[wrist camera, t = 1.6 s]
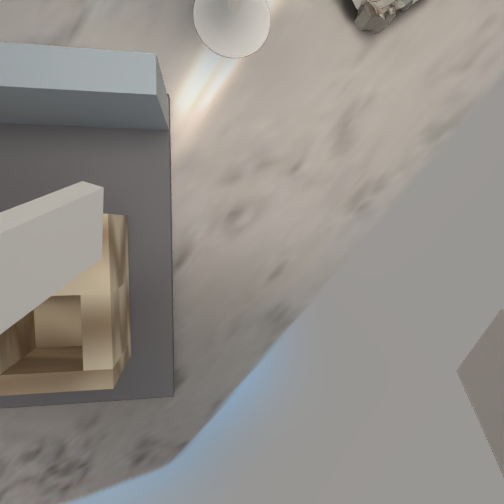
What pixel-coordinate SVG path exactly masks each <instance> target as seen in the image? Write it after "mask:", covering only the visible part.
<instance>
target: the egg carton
mask: <svg viewBox="0 0 504 504" xmlns="http://www.w3.org/2000/svg"><path fill="white" fill-rule="evenodd" d="M352 1H353V3H354V5H355V7H356V9H357V10H358V15H357V18H356V19H355V21H354V24H355V25H356V27H357V28H358V30H359V31H362V30H366V29H367V30H372V31H373V32H374V33H378V32H380V31H381V30H382V29H383V28H385V27H386V26H388V25H389V24H390V22H391V21H392V20H393V19H394V17H395V16H396V14H397V12H396V11H397V10H398V9H400V10H402V11H403V12H405V11H406V10H407V9H408V8H409V7H411V6H412V5H413V4H414V3H415V2H416V1H418V0H395V1H394V2H393V3H392V4H390V5H389V6H387V7H384V8H381V9H380V8H378V7H376V6H375V5H374V4H373V3H371V2H377V1H379V0H369V1H371V2H367V0H352Z"/></svg>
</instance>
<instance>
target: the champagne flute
mask: <svg viewBox="0 0 504 504" xmlns="http://www.w3.org/2000/svg"><path fill="white" fill-rule="evenodd" d="M193 18H194V24H195V28H196V30H197V32H198V35H199V37H200V38H201V39H202V41H203V42H204V43H205V44H206V45H207V46H208V47H209V48H210V49H211V50H212V51H214V52H215V53H217V54H220V55H222V56H225V57H229V58H241V57H246V56H248V55H250V54H252V53H254V52H255V51H257V50H258V49H259V48H260V47H261V46H262V45H263V43H264V42H265V40H266V38H267V36H268V33H269V29H270V12H269V8H268V5H267V3H266V0H195V3H194V9H193Z"/></svg>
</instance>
